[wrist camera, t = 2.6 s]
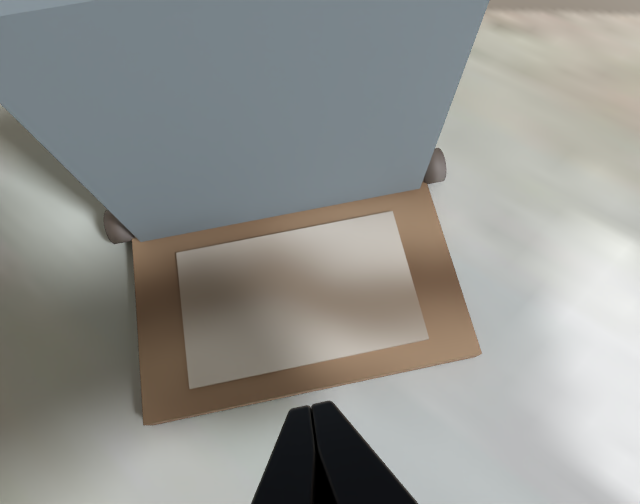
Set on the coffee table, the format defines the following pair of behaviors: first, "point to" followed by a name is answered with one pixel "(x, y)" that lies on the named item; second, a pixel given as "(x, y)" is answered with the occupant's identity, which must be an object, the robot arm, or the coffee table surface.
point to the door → (234, 100)
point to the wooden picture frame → (295, 303)
